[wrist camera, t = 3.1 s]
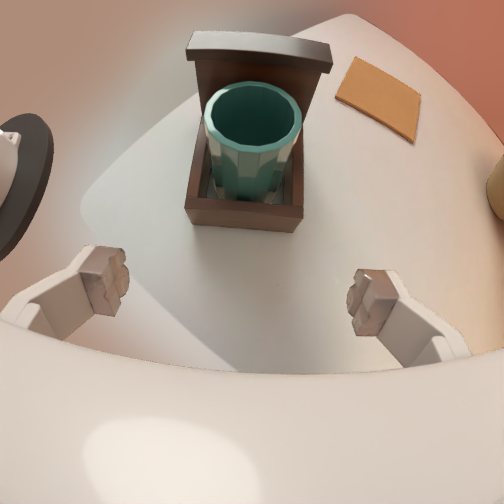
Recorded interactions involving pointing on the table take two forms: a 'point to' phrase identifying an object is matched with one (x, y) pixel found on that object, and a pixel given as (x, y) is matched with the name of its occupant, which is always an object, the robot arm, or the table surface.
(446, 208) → the table surface
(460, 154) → the table surface
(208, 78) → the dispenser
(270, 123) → the cup
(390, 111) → the mat
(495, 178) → the plant pot
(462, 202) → the table surface
